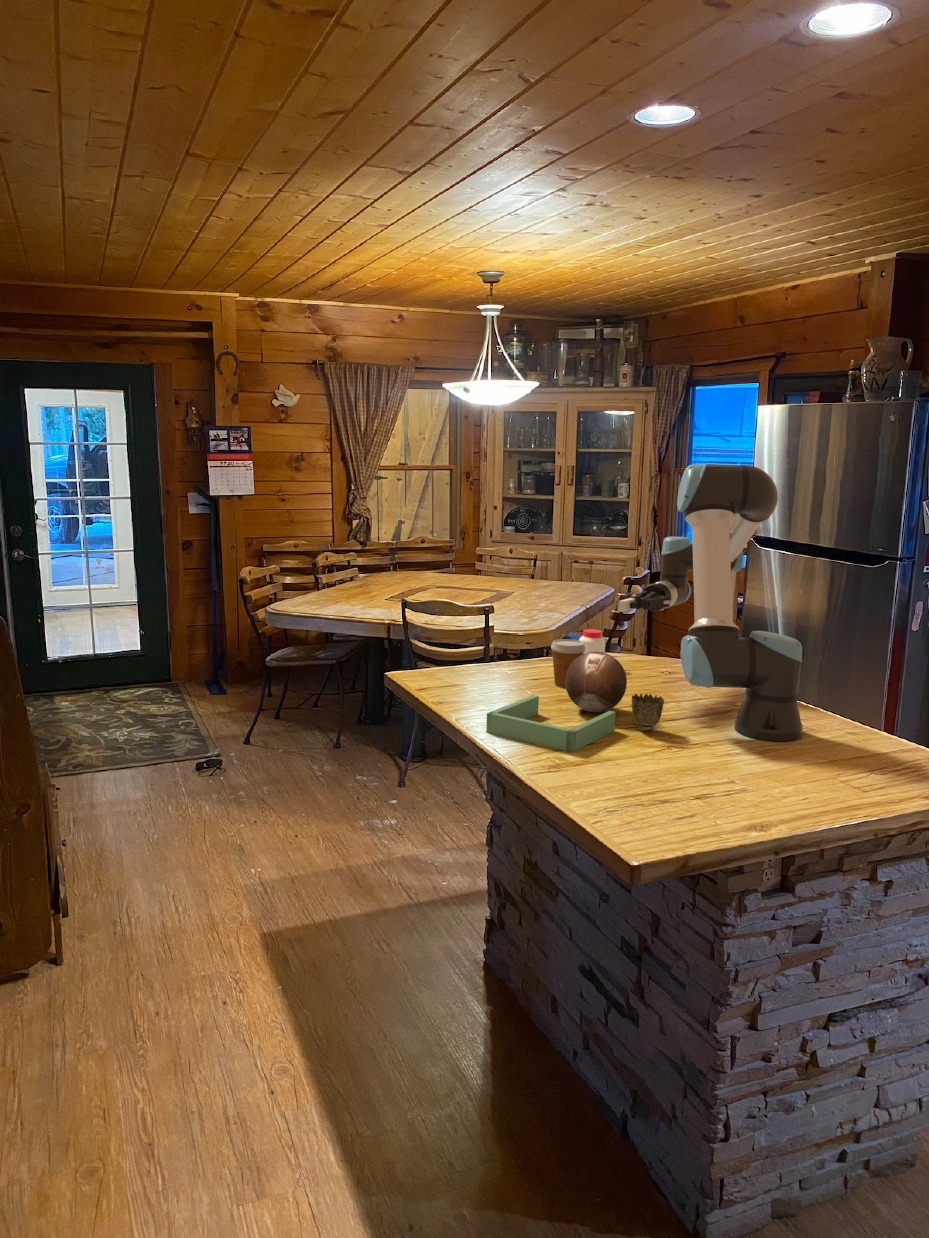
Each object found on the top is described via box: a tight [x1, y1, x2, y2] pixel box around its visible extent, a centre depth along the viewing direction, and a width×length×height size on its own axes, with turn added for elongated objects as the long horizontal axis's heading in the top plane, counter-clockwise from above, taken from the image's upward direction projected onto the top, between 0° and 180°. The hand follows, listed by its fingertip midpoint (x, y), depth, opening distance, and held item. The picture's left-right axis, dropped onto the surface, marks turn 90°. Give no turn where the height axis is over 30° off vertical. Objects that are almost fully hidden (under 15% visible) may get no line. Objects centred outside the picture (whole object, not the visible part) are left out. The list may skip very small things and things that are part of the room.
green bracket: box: [485, 695, 617, 753], centre depth 210 cm, size 20×22×4 cm
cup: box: [631, 693, 665, 733], centre depth 212 cm, size 8×7×8 cm
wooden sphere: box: [565, 652, 628, 713], centre depth 226 cm, size 15×15×15 cm
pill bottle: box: [578, 628, 606, 654], centre depth 274 cm, size 8×8×11 cm
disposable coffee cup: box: [550, 638, 586, 689], centre depth 252 cm, size 10×10×12 cm
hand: (621, 606), depth 233 cm, fingers closed
